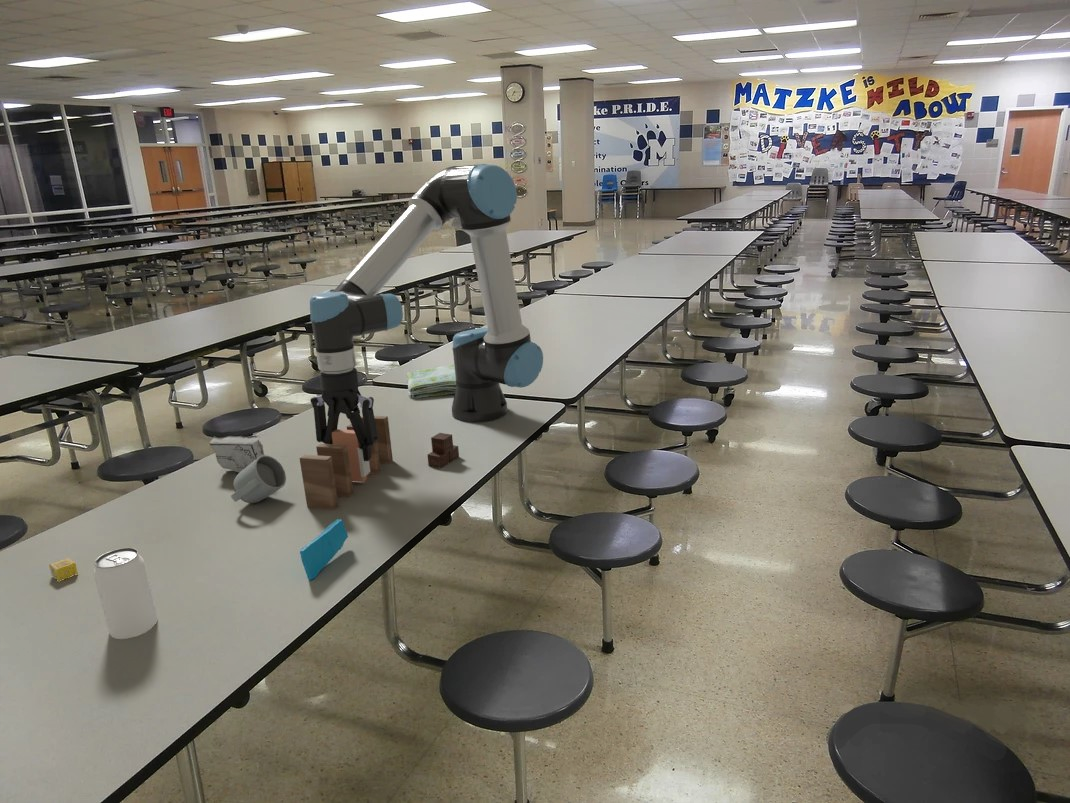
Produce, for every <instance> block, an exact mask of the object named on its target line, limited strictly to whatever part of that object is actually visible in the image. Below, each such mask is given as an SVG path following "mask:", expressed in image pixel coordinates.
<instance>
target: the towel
mask: <svg viewBox="0 0 1070 803" xmlns="http://www.w3.org/2000/svg"><path fill="white" fill-rule="evenodd" d="M406 378H407V390H408V393H407V394H408V397H409V398H410V399H421V398H422V397H423V398H428V397H429V396H430V397H437V396H438V397H439V396H444V395H445V396H446V395H455V392H456V376H455V366H454V364H450V365H444V366H438V367H436V366H435V367H430V368H429V367H428V368H423V369H417V370H412V371H408V372H406ZM423 398H422V399H423Z"/></svg>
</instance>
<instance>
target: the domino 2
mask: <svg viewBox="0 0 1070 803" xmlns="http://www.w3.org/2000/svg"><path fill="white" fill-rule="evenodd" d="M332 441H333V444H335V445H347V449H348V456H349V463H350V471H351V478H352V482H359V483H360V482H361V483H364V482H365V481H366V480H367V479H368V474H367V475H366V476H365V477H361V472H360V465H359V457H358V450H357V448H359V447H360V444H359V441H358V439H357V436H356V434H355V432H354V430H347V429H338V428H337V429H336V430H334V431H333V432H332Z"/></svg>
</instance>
